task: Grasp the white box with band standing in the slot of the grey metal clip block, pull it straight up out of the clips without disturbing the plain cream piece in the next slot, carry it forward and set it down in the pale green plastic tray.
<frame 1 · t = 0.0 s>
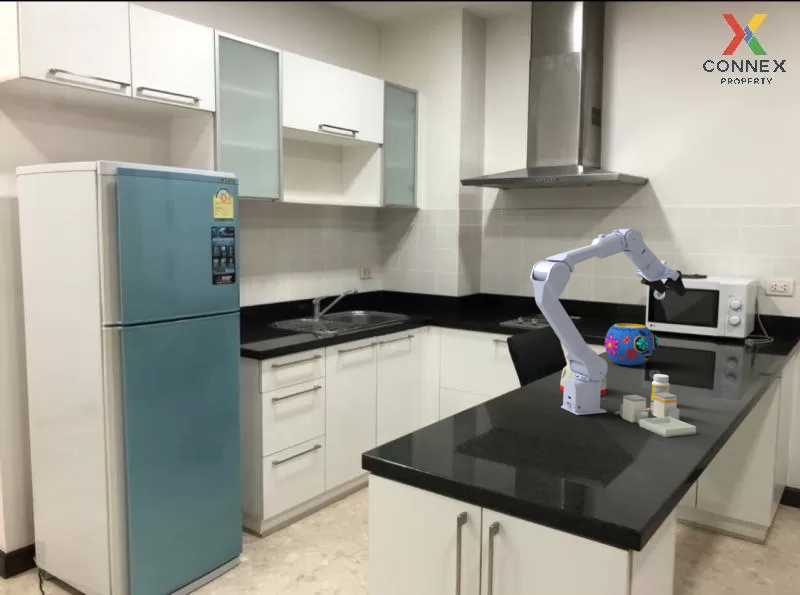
hand: (673, 292, 183), 32 cm above the countertop, tool tilted 50°, fingers open, 7 cm apart
ceramic pot: (628, 365, 242), on the countertop
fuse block: (649, 417, 171), on the countertop
kitchen timer: (582, 391, 200), on the countertop
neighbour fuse: (633, 419, 169), on the countertop
tray: (666, 429, 160), on the countertop
supplement bottle: (659, 404, 185), on the countertop
white box with band: (664, 416, 172), on the countertop
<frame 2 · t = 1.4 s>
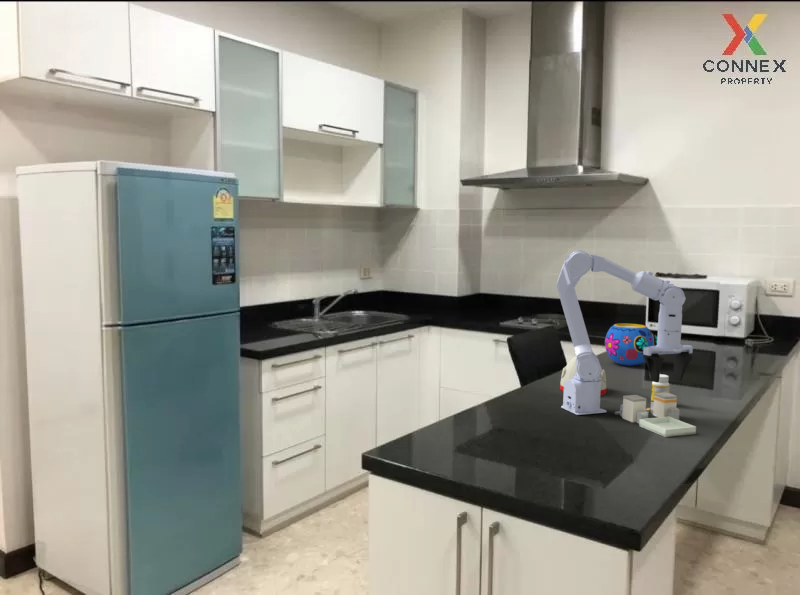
hand: (666, 380, 171), 10 cm above the countertop, tool pointing down, fingers open, 7 cm apart
nothing on the countertop moved.
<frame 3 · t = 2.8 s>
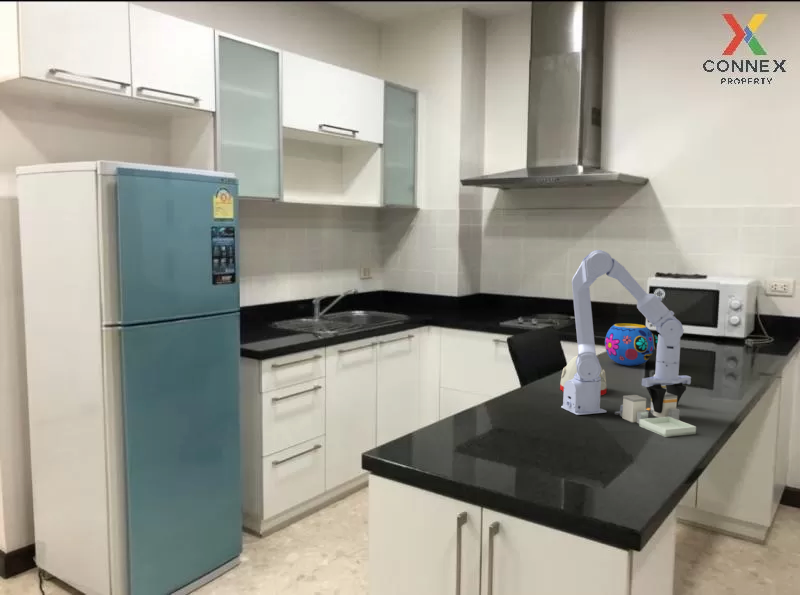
hand: (664, 411, 172), 1 cm above the countertop, tool pointing down, fingers closed on white box with band, 4 cm apart
white box with band: (664, 416, 172), on the countertop, touching gripper
everything else where it was.
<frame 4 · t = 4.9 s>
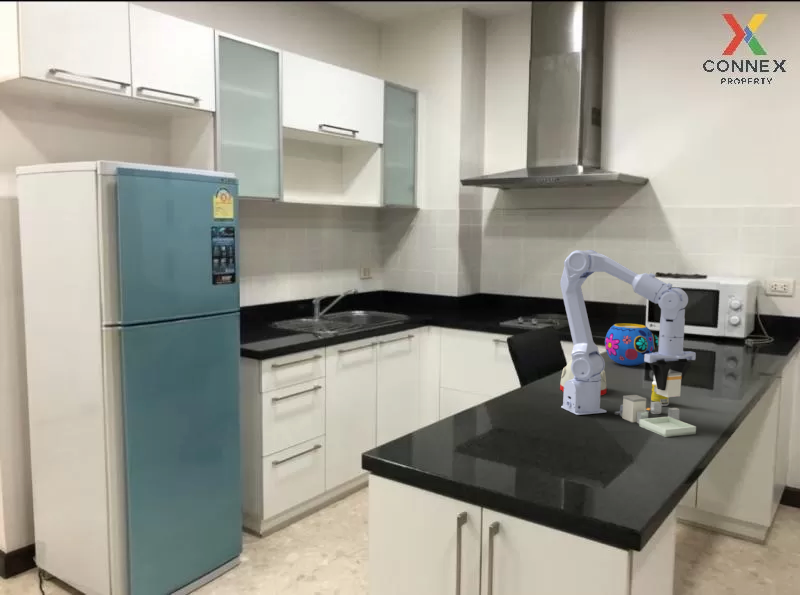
hand: (668, 388, 164), 9 cm above the countertop, tool pointing down, fingers closed on white box with band, 4 cm apart
white box with band: (668, 394, 164), point 8 cm above the countertop, touching gripper
everything else where it was.
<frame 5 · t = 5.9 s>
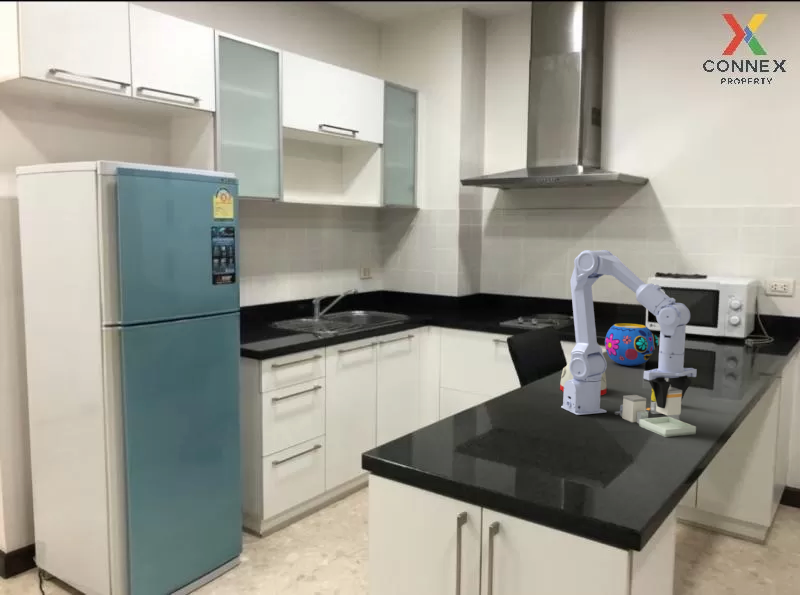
hand: (668, 406, 160), 6 cm above the countertop, tool pointing down, fingers closed on white box with band, 4 cm apart
white box with band: (668, 412, 160), point 4 cm above the countertop, touching gripper
everything else where it was.
when the fingers open (3 cm above the countertop, at t = 6.8 s): white box with band drops 1 cm, resting on tray.
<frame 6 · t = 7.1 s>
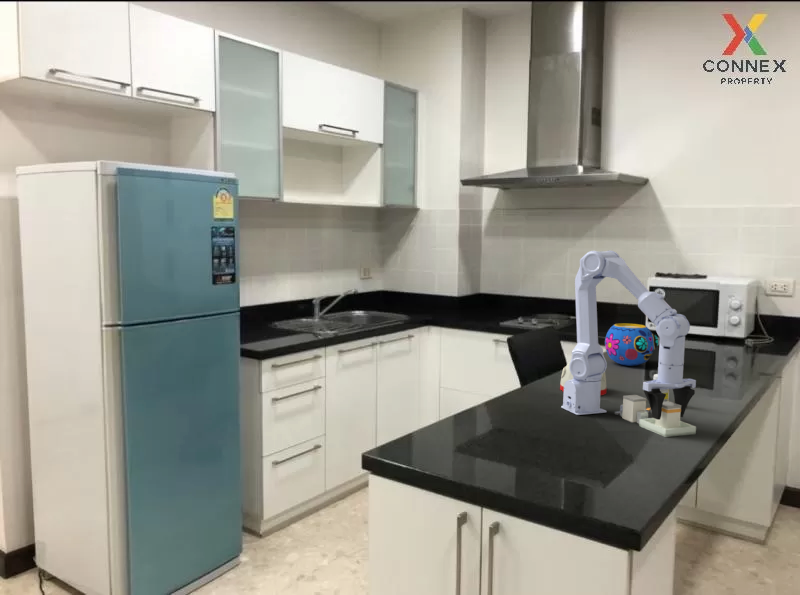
hand: (667, 417, 160), 3 cm above the countertop, tool pointing down, fingers open, 6 cm apart
white box with band: (667, 427, 160), point 1 cm above the countertop, touching tray
everything else where it was.
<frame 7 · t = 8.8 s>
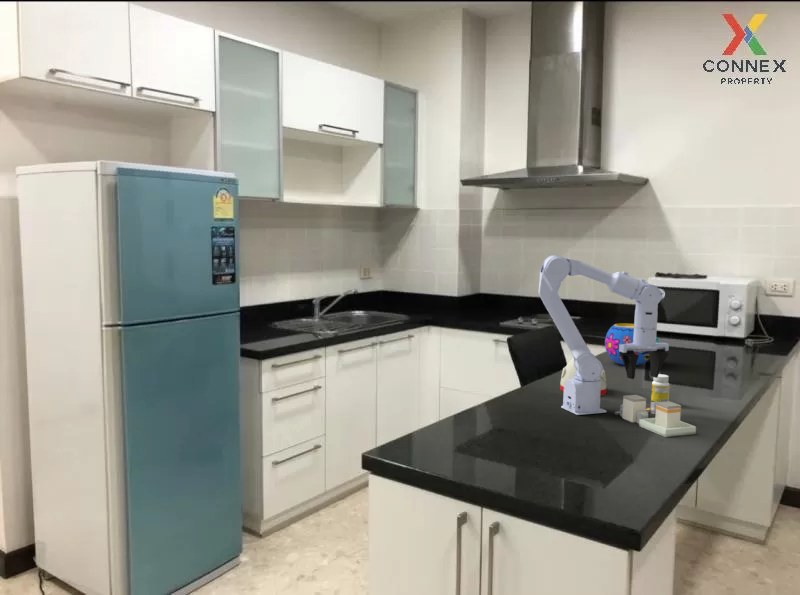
hand: (642, 377, 175), 10 cm above the countertop, tool pointing down, fingers open, 7 cm apart
nothing on the countertop moved.
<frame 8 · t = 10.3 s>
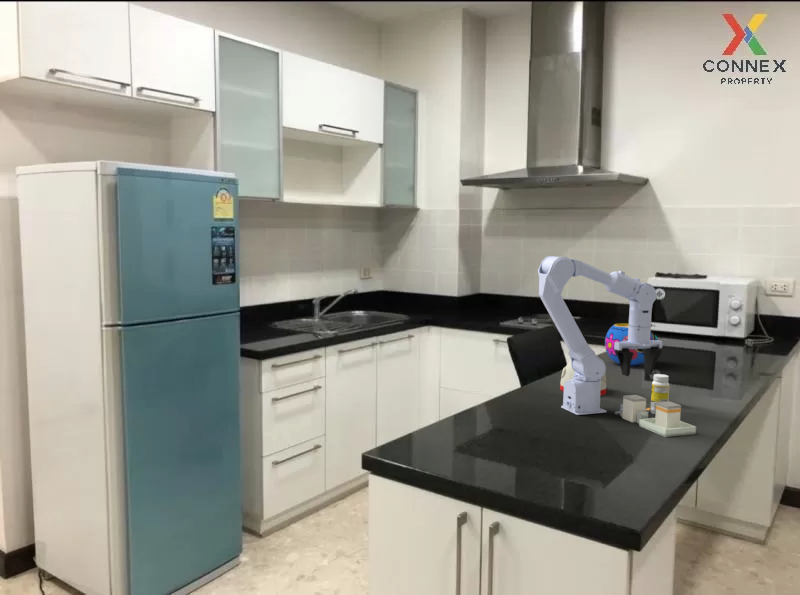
hand: (637, 374, 178), 10 cm above the countertop, tool pointing down, fingers open, 7 cm apart
nothing on the countertop moved.
at the end: white box with band inside the target area on the tray (0.0 cm from its centre), point 0.6 cm above the tray's base; white box with band tilted 0°; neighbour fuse moved 0.1 cm from its start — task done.
